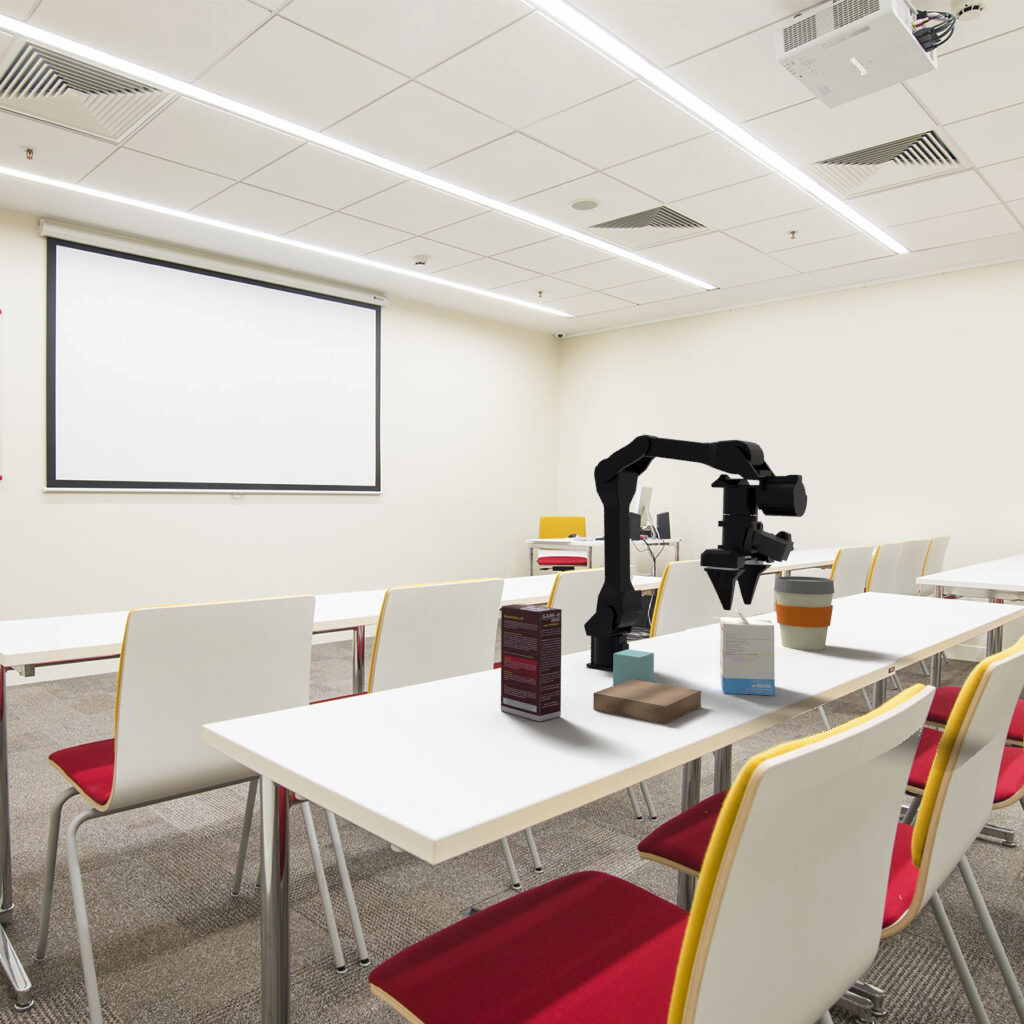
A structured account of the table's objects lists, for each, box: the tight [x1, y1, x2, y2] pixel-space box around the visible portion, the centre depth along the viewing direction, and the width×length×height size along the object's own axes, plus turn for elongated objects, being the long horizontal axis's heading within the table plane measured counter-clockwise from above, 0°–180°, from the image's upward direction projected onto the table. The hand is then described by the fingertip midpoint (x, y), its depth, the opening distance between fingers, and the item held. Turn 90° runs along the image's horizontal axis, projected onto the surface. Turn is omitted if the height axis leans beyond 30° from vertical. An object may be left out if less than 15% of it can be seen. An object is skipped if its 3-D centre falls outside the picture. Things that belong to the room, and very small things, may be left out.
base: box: [592, 679, 702, 725], centre depth 118 cm, size 12×12×2 cm
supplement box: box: [500, 603, 563, 722], centre depth 114 cm, size 9×5×16 cm, turn 43°
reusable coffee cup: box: [773, 575, 835, 651], centre depth 171 cm, size 13×13×15 cm
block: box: [612, 648, 655, 686], centre depth 130 cm, size 5×5×6 cm
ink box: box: [719, 607, 776, 696], centre depth 131 cm, size 9×8×13 cm
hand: (737, 607), depth 130 cm, fingers open, 9 cm apart
